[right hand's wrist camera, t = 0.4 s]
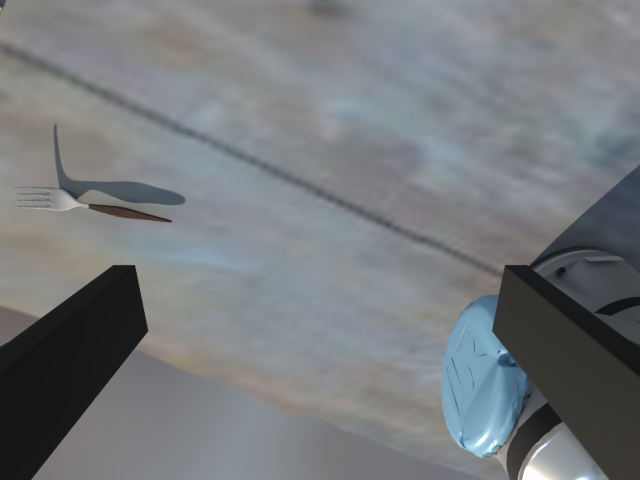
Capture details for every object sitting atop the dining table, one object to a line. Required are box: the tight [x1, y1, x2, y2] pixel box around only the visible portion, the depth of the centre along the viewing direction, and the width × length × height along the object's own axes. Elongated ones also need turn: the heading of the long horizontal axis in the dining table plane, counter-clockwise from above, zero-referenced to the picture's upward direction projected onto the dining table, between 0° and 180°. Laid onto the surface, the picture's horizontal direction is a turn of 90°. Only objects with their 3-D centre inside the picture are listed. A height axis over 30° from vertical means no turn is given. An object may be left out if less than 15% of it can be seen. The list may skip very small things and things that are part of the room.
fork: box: [13, 187, 172, 222], centre depth 38 cm, size 3×16×2 cm, turn 79°
